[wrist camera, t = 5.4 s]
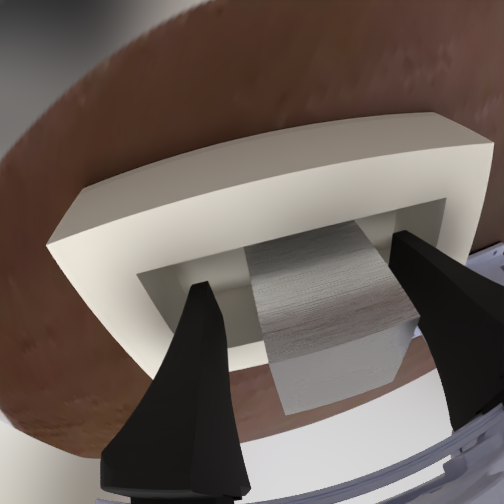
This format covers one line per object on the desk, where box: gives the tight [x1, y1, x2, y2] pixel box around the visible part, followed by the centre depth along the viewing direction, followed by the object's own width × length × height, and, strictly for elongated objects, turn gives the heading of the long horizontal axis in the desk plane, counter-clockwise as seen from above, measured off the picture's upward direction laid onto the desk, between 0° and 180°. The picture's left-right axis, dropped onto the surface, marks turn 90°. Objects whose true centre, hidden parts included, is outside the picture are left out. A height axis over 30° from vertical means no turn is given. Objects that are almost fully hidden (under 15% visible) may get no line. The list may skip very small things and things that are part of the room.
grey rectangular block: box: [244, 220, 420, 415], centre depth 11 cm, size 4×4×7 cm
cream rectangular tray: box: [46, 112, 494, 379], centre depth 12 cm, size 16×9×4 cm, turn 101°
